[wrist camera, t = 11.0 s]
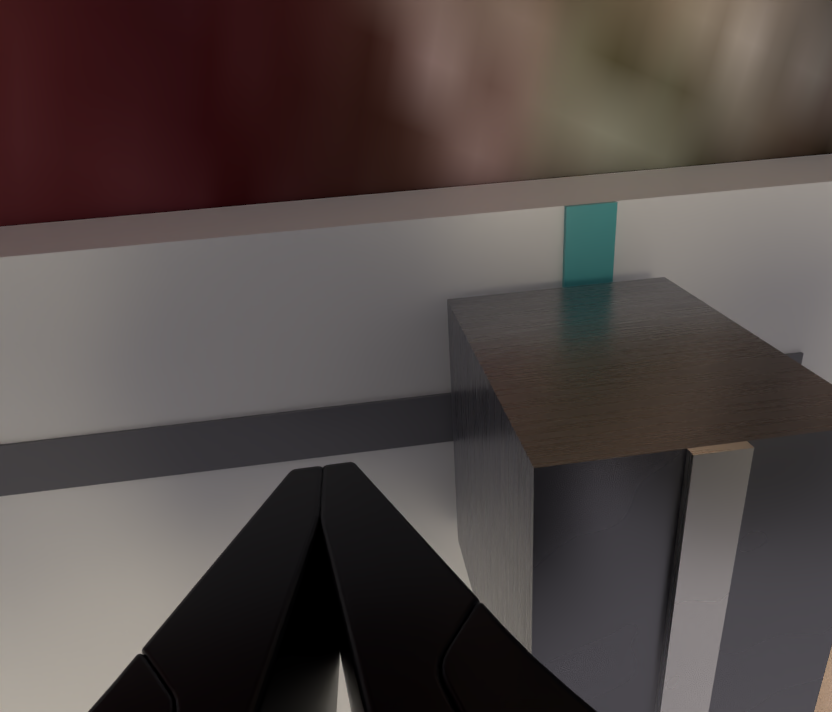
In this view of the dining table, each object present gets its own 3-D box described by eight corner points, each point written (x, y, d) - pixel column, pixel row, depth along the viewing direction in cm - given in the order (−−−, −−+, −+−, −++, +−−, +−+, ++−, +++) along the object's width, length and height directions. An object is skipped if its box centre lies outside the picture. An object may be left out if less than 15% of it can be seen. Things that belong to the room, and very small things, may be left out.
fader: (641, 515, 11) (810, 757, 7) (457, 539, 10) (532, 805, 7) (664, 276, 9) (901, 429, 5) (447, 299, 9) (537, 475, 5)
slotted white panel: (707, 819, 19) (750, 904, 17) (-130, 970, 17) (-188, 1086, 15) (834, 153, 11) (938, 173, 9) (-653, 283, 9) (-903, 341, 7)
